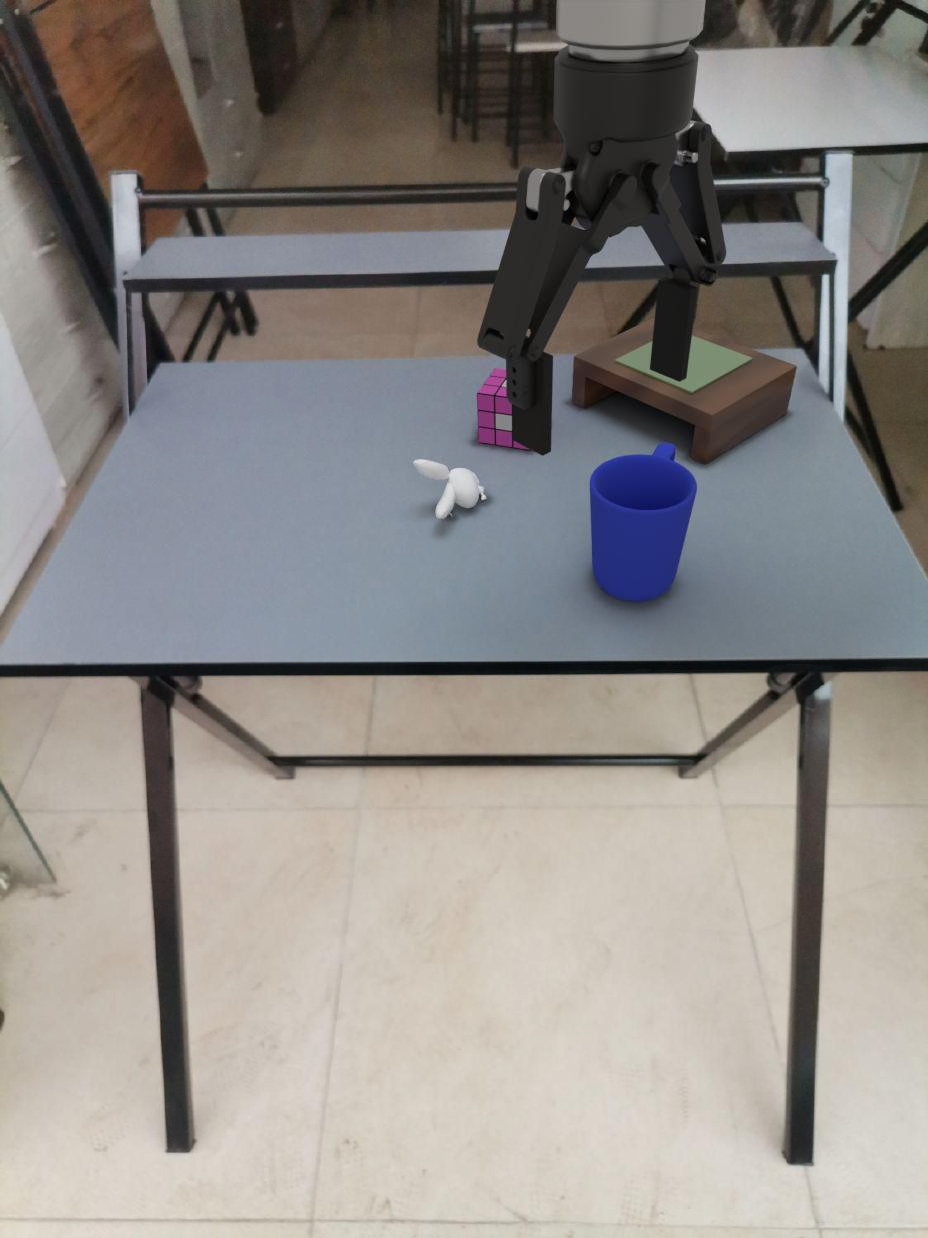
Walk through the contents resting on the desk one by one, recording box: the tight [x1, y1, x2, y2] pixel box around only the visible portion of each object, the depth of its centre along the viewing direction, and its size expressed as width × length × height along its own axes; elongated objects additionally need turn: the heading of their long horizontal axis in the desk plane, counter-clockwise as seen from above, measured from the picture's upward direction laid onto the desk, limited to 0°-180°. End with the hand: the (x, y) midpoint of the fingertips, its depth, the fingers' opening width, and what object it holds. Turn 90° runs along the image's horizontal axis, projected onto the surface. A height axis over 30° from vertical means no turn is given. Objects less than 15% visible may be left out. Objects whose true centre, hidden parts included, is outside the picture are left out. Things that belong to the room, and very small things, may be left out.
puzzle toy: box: [476, 367, 531, 451], centre depth 95 cm, size 6×6×6 cm
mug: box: [589, 442, 698, 602], centre depth 76 cm, size 8×12×10 cm
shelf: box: [571, 316, 798, 465], centre depth 97 cm, size 18×14×6 cm
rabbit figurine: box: [412, 458, 488, 520], centre depth 86 cm, size 6×4×8 cm
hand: (603, 408), depth 62 cm, fingers open, 13 cm apart
